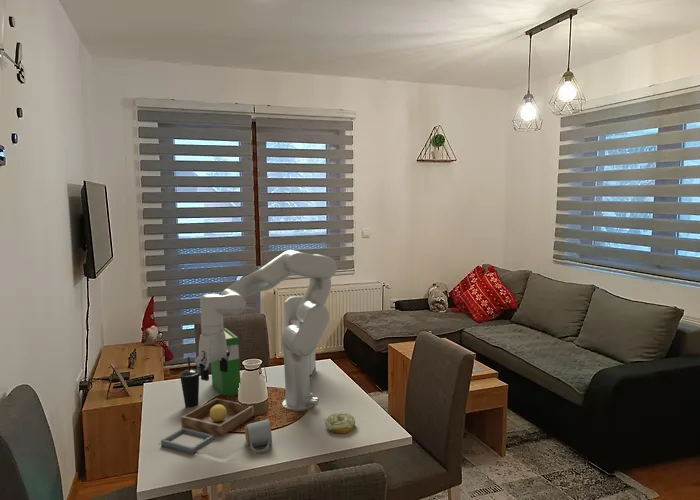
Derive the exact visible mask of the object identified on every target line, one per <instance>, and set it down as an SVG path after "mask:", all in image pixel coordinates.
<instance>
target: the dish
mask: <svg viewBox="0 0 700 500" xmlns="http://www.w3.org/2000/svg"><path fill="white" fill-rule="evenodd" d="M182 434H188V435H193V436H197V437H200V438H204V439H203V440H202V441H200V442H198V443H197V444H195V445H194V446H190V445H185V444H182V443H179V442H178V443H177V442H174V441H171V440H173V439H175V438H176V437H178V436H180V435H182ZM213 440H215V435H212V434H208V433H204V432H200V431H196V430H192V429H188V428H184V427H181V428H180V429H178V430H177V431H175V432H174V433H171V434H170V435H168V436H166V437H164V438H163V439H161V440H160V442H161V443H160V446H161V447H163V448H167V449H171V450H174V451H178V452H180V453H181V452H182V453H184V454H189V455H192V456H193V455H195V454H197V453H198V451H197V450H199V449H201V448H202V447H204V446H206V445H208V444H209V443H210V442H212V441H213Z"/></svg>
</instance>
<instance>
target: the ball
mask: <svg viewBox="0 0 700 500" xmlns="http://www.w3.org/2000/svg"><path fill="white" fill-rule="evenodd" d="M226 415H227V411H226V408H225V407H224V406H223V405H220V404H218V405H215V406H213V407H212V408H211V410H210V418H211V419H212V420H213V421H215V422H220V421H222V420H224V419H225V417H226Z"/></svg>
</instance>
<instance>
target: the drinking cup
mask: <svg viewBox="0 0 700 500" xmlns="http://www.w3.org/2000/svg"><path fill="white" fill-rule="evenodd" d="M190 358H191V357H190V356H188V357H187V366H188V369H185V370H183V371H181V372H180V373H179V377H180V381H181V382H180V383H181V388H182V389H181V390H182V394H183V400H184V407H185V409H187V408H195V407H197V406H198V405H199V393H200V391H199V390H200V389H199V388H200V375H201V370H200V369H199V370H198V369H195V368H191V359H190Z"/></svg>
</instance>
